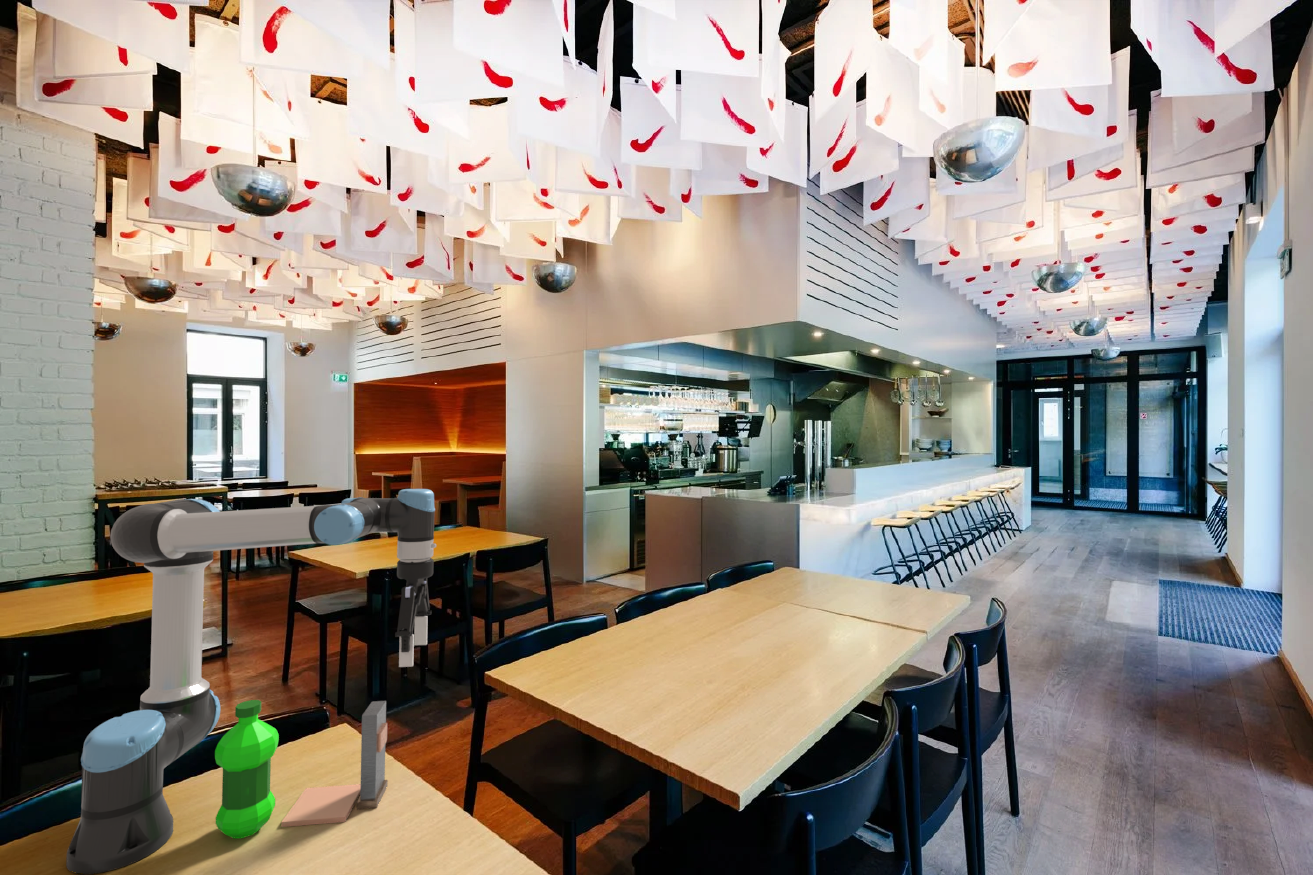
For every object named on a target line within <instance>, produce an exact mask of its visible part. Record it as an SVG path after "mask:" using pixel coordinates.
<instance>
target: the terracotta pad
mask: <svg viewBox="0 0 1313 875" xmlns="http://www.w3.org/2000/svg"><path fill="white" fill-rule="evenodd" d="M360 789H361V783H357V784H344V785H343V784H342V785H329V786H317V787H316V786H315V787H305V789H304V790H303V791H302V793H301V794H300V795H299V797H298V798H297V799H296V801H295V803H294V804H293V805H292V807H291V808H290V810H289V811H288V812H287V813H286V815H285V816H284V817H283V819H282V820H281V822H280V823H281V824H280V825H281V826H280V828H286V827H287V828H288V827H296V826H297V827H298V826H312V825H322V824H333V823H334V824H335V823H345V822H346V821H347V820H348V817H349V815H350V814H351V811H352V810H353V809H352V808H354V806H355V805H356V804H357V801H358V800H359V798H360V796H359V795H360ZM358 797H359V798H358ZM357 799H358V800H357Z"/></svg>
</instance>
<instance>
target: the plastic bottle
mask: <svg viewBox="0 0 1313 875" xmlns="http://www.w3.org/2000/svg"><path fill="white" fill-rule="evenodd" d="M234 711H235V712H234V714H235V716H234V717H236V718H238V722H237V723H236V724H235V725H234V726H232V727H231V728H230V729H229V730H228V731H227V732H226V733H225V734H224V735H223V736H222V737H221V739H220V740H219V741H218V743H217V745H216V747H215V750H214V759H215V763H216V765H218V766H219V767H221V768H222V787H221V789H222V791H221V793H222V794H221V805H220V807H219V809H218V811H217V813H216V816H215V825H216V827H217V829H218V830H219V831H220V832H222V833H223V834H224V835H225V836H227V837H230V838H232V839H244V838H247V837H250V836H253V835H254V834H255V833H257V832H258V831H260V829H261V828H263V827H264V825H266V823H268V821H269V820H270V818H271V816H272V814H273V811H274V809H275V806H276V797H275V795H274V793H273V792H272V791H271V769H272V768H271V767H272V766H271V765H272V764H271V762H272V759H271V758H272V757H273V756H274V755H275V752H276V750H277V748H278V745H279V740H280V739H279V738H280V737H279V736H280V735H279V733H278V730H277V729H276V728H275V727H273V726H272V725H270V724H268V723H267V722H265V721H263V720H261V719H259V714H260V713H261V711H262V701H261V700H259V699H250V700H246V701H245V700H244V701H243V702H239V703H237V705H236V706H235V710H234Z"/></svg>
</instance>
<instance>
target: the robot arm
mask: <svg viewBox="0 0 1313 875" xmlns="http://www.w3.org/2000/svg"><path fill="white" fill-rule="evenodd" d="M435 512H436V508H435V493H434V492H433V491H432V490H431V489H428V488H405V489H401V490H399V491H398V496H397V497H394V498H393V497H391V498H389V497H388V498H384V497H383V498H382V497H381V498H379V497H378V498H377V497H375V498H374V497H372V498H371V497H361V496H359V497H352V498H351V497H349V498H345V499H343V500H341V503H338V504H324V505H309V506H308V505H307V506H305V505H304V506H292V507H291V506H290V507H275V508H274V507H272V508H258V509H257V508H256V509H242V510H241V509H240V510H226V511H221V510H219V509H218V508H217V507H216V506H215V505H213V503H211V502H209V501H207V500H204V499H198V498H188V499H187V498H183V499H181V498H180V499H178V498H177V499H174V500H167V501H161V502H157V503H148V504H142V505H138V506H135V507H133V508H130V509H129V510H127V511H126V512H124V513H122V514H121V515H120V516H119V517H118V518H117V519H116V521H115V522H114V523H113V526H112V528H111V530H110V535H109V536H110V543H111V545H112V547H113V549H114V551H115V552H116V553H117V554H118V555H119V556H120V557H121V558H123V559H125V560H128V561H130V562H133V563H142V564H143V567H144V568H145V569H146V570H148V571H150V572H151V573H152V599H151V600H152V603H151V605H152V606H151V609H152V610H151V637H150V638H151V640H150V641H151V642H150V643H151V644H150V671H149V672H150V675H149V679H150V680H149V687H148V689H147V688H146V690H145V691H144V692H143V693H142V694H141V695H140V700H139V701H140V702H139V709H138V710H134V711H130V712H127V713H126V712H125V713H123V714H122V715H121V716H114V717H113V718H110V719H108V720H105V721H103V722H102V723H101V724H99V725H98V726H96V727H95V728H94V729H93V730H91V731H90V733H89V734H88V735H87V736H86V738H85V740H84V742H83V748H82V753H81V757H80V762H81V763H80V765H81V800H80V801H81V803H80V804H81V805H80V808H81V810H80V819H79V821H78V824H77V826H76V829H75V831H74V834H73V836H72V839H71V841H70V843H69V845H68V848H67V851H66V868H67V870H68V871H69V872H71V871H73V872H76V873H75V874H77V873H83V874H82V875H94V873H95V874H100V873H101V874H102V873H106V872H109V871H113V870H117V869H120V868H122V867H123V868H124V867H126V866H129V865H132V864H134V863H136V862H138V861H140V860H143V859H144V858H146V857H148V856H149V855H151V854H152V853H154V852H157V850H159V849H160V848H161V847H163V846H164V845H166V843H167V842H168V841H169V840H170V839H171V837H172V835H173V832H174V818H173V815H172V814H171V811H170V808H169V805H168V803H167V801H166V799H165V796H164V794H163V792H164V791H163V789H164V787H163V786H164V769H165V768H166V767H167V766H170V765H171V764H172V763H174V762H175V761H176V760H177V759H179V758H180V757H182V756H183V755H184V754H185V753H187V752H188V751H189V750H191V749H193V748H195V747H196V746H198V745H199V744H200V743H202V741H203V740H204V739H205V738H207V736H208V735H209V734H211V732H212V731H213V730H214V728H215V727H216V725H217V724H218V722H219V719H220V716H221V703H220V700H219V697H218V695H215V692H214V691H213V690H212V689H211V688H210V686H211V685H210V684H211V683H210V682H209V681H208V680H206V679H205V678H203V677H202V667H203V666H202V662H203V632H204V631H203V629H204V628H203V627H204V624H203V623H204V621H203V620H204V594H205V593H204V589H205V569H206V568H207V567H208V565H210V564H211V563H212V562H213V561H214V551H216V552H217V551H228V550H229V551H230V550H240V549H241V550H242V549H243V550H244V549H257V548H269V547H270V548H271V547H284V546H297V545H298V546H299V545H311V544H312V545H314V544H326V545H330V546H338V545H344V544H349V543H351V542H353V541H355V540H357V539H358V538H361V537H364V536H366V535H369V534H372V533H373V534H374V533H397V546H396V547H397V548H396V558H397V559H398V561H397V562H396V577H397V578H398V579H400V580H404V581H405V580H406V584H405V585H406V586H403V587H401V596H400V597H401V599H400V607H399V614H398V621H397V631H395V632H394V637H395V638H398V637H399V646H398V648H399V649H398V651H399V652H398V658H399V659H398V668H406V667H407V668H409V667H411V668H412V667H414V656H415V655H414V654H415V653H414V647H415V646H427V645H428V616H430V615H432V609H430V608H431V605H430V598H429V597H430V596H429V586H428V585H429V584H428V578H430V577H432V576H433V575H434V565H435V564H434V563H435V561H434V559H433V558H432V557H434V549H435V548H437V544H436V543H434V542H435V541H434V538H435V516H436V515H435ZM73 872H72V873H73Z"/></svg>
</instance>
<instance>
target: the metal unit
mask: <svg viewBox="0 0 1313 875" xmlns="http://www.w3.org/2000/svg"><path fill="white" fill-rule="evenodd" d="M386 719H387V700H377V701H371V702H370V704H369V705H368V706H367V708H366V709H365V711H364V712H363V713H362V715H361V741H360V742H361V744H360V745H361V749H360V751H361V752H360V784H361V789H360V796H359V798H358V800H357V801H356V810H364V809H363V808H368V809H377V808H378V807H379V805H378V804H380V803H379V802H381V800H382V798H383V796H384V794H385V792H386V790H387V788H388V782H389V780H388V779H385V778H386V777H385V776H386V774H385V772H386V770H385V768H386V743H387V741H388V722H387V720H386ZM386 787H387V788H386Z"/></svg>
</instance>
